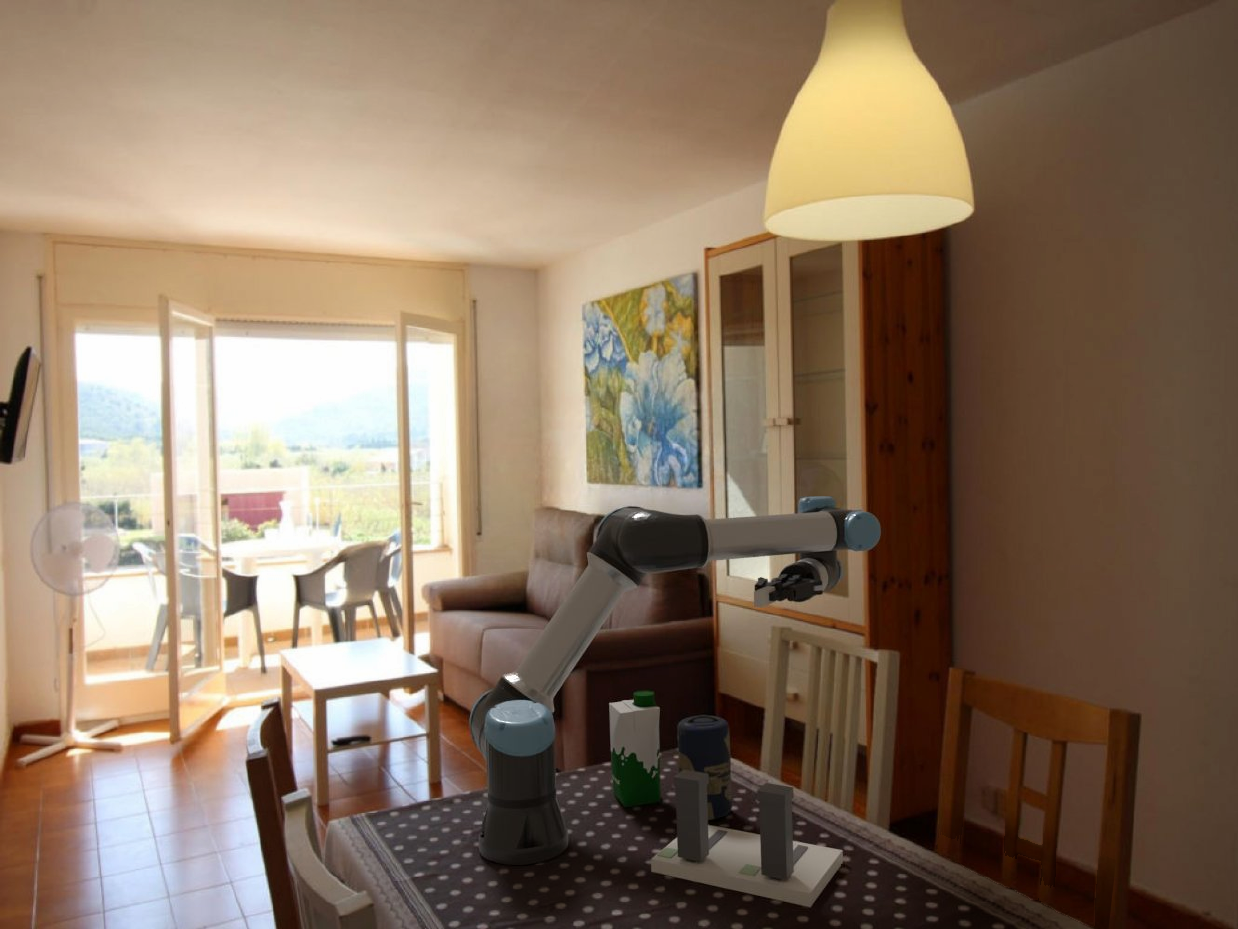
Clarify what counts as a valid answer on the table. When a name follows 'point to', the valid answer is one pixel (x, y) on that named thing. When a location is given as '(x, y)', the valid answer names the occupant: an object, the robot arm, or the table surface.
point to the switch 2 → (776, 830)
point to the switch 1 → (692, 814)
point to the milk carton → (635, 749)
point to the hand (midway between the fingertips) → (758, 599)
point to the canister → (708, 758)
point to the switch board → (752, 867)
